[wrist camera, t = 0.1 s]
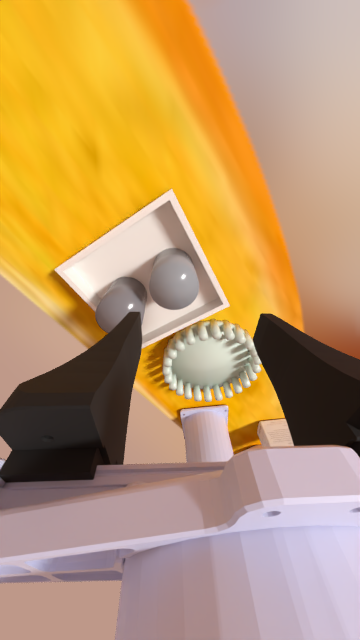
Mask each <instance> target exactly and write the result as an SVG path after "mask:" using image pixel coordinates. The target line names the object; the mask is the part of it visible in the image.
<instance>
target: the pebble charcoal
mask: <svg viewBox="0 0 360 640" xmlns="http://www.w3.org/2000/svg"><path fill="white" fill-rule="evenodd" d="M146 302H147V291H146V288H145V287H144V285H143V284H142V283H141V282H140V281H138V280H137V279H135V278H132V277H120V278H117V279H115V280H114V281H113V282H112V283H111V284H110V286H109V288H108V290H107V291H106V293H105V295H104V296H103V298H102V300H101V302H100V303H99V305H98V307H97V309H96V312H95V317H96V321H97V323H98V325H99V326H100V327H101V328H102V329H103V330H104V331H105V332H107V333H109V332H110V331H111V330H112V329H113V328H114V327H115V326H116V325H117V324H118V323H119V322H120V321H121V320H122V319H123V318H124V317H125V316H126V315H127V314H128V313H129V312H140V314H141V326H142V323H143V318H144V313H145V307H146Z"/></svg>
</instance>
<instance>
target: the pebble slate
mask: <svg viewBox="0 0 360 640" xmlns="http://www.w3.org/2000/svg"><path fill="white" fill-rule="evenodd" d="M149 292H150V295H151V297H152V299H153V300H154V301H155V302H156V303H157V304H158V305H159V306H161V307H163V308H165V309H169V310H179V309H183V308H185V307H187V306H189V305H190V304H191V303H193V301H194V300H195V299H196V297H197V295H198V292H199V281H198V278H197V274H196V271H195V268H194V264H193V261H192V259H191V257H190V256H189V254H187V253H186V252H185V251H183V250H181V249H178V248H168V249H165V250H163V251H161V252H160V253H159V254H158V255H157V256H156V258H155V260H154V262H153V267H152V272H151V277H150V282H149Z"/></svg>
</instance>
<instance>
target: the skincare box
mask: <svg viewBox="0 0 360 640" xmlns="http://www.w3.org/2000/svg"><path fill="white" fill-rule="evenodd" d="M257 434H258V436H259V439H260V441H261V444H262V447H276V446H294V444H293V441H292V437H291V434H290V431H289V428H288V424H287V421H286V419H277V420H267V421H260V422H259V425H258V429H257Z"/></svg>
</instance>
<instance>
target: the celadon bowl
mask: <svg viewBox="0 0 360 640" xmlns="http://www.w3.org/2000/svg"><path fill="white" fill-rule="evenodd" d="M259 364H261V361H260V359H259V357H258V355H257V352H256V349H255V346H254V343H253V338H252V337H250V335H249V333H248V331H247V330H243V329H242V328H241V327H240V326H239V325H238V324H233V323H229V321H227V320H223V321H218V320H216V319H211V320H210V321H198V322H197V323H195V324H192V325H189V326H187V327H185V328H184V329H182V330H181V331H177V332H176V333H175V336H174V337H173V338H172V339H169V341H168V345H167V347H166V348H165V349H164V357H163V375H165V383H169V389H170V390H175V389H176V394H177V395H183V393H185V398H186V399H191V398H192V392H191V388H193V391H194V399H195V401H201V399H202V398H201V391H200V389H203V392H204V398H205V401H206V402H210V401H211V400H212V397H211V392H210V389H213V390H214V395H215V399H216V400H218V401H219V400H222V394H221V390H220V387H222V386H223V388H224V392H225V396H226V397H227V398H230V397H232V396H233V394H232V391H231V387H230V383H232V384H233V387H234V390H235V393H241V392H242V388H241V385H240V382H239V380H238V379H239V378H240V379H241V382H242V385H243V387H245V388H247V387H249V386H250V385H251V384H250V382H249V380H251V381H254V380H256V379H257V376H256V374H255V373H259V372H260V371H261V368H260V366H259ZM246 372H247V374H246ZM247 375H248V377H249V379H248V377H247ZM183 385H184V392H183Z"/></svg>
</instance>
